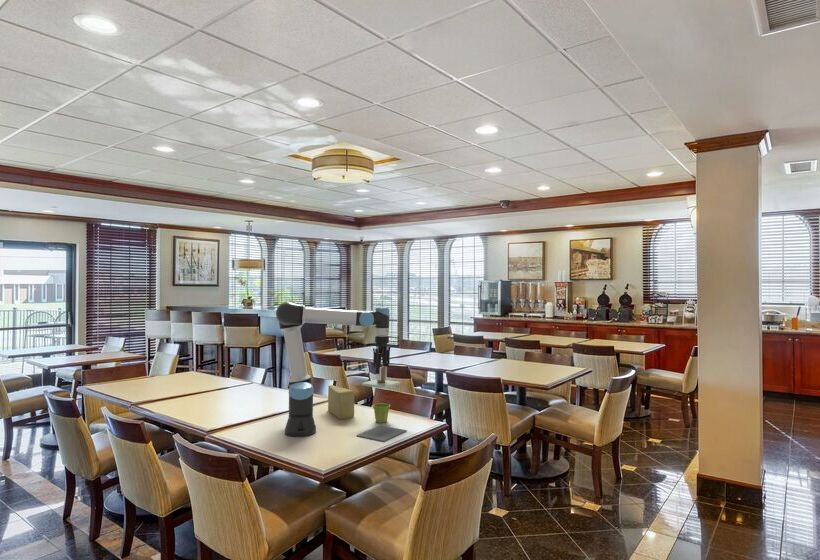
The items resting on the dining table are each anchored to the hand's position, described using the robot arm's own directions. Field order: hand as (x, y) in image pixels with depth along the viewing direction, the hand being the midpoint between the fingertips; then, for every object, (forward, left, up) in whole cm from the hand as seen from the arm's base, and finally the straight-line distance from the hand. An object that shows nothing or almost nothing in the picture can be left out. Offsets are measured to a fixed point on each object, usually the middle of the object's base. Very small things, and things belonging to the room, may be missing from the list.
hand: (381, 379), depth 255 cm
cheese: (-1, +29, -23) cm, 37 cm away
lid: (0, 0, -3) cm, 3 cm away
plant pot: (0, 0, -23) cm, 23 cm away
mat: (-18, -13, -23) cm, 32 cm away
